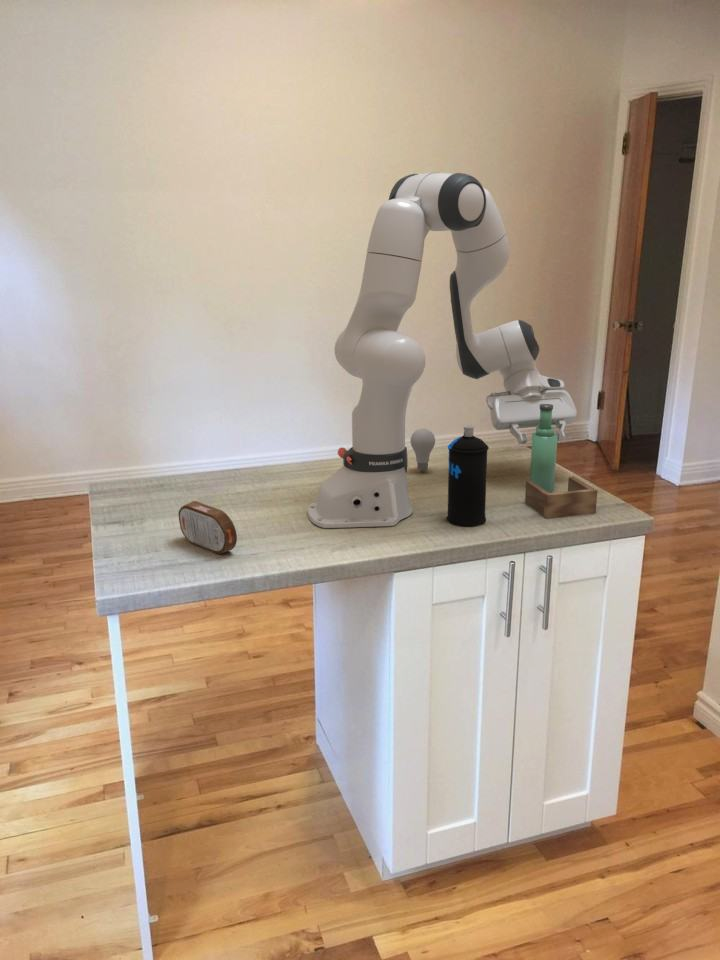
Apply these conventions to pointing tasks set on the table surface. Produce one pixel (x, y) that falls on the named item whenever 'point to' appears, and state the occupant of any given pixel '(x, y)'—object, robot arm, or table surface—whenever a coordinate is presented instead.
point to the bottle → (544, 451)
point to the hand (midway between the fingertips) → (542, 441)
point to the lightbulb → (422, 447)
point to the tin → (207, 527)
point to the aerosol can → (467, 480)
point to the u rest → (562, 499)
